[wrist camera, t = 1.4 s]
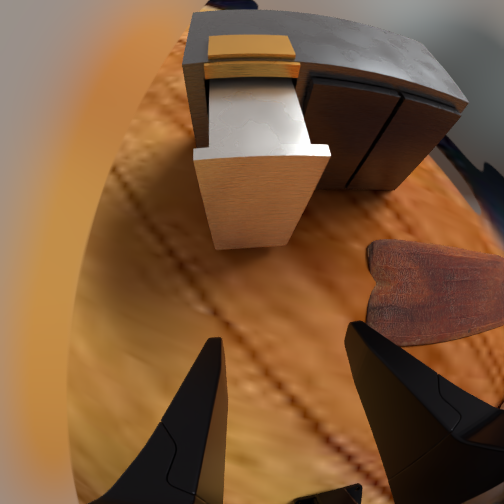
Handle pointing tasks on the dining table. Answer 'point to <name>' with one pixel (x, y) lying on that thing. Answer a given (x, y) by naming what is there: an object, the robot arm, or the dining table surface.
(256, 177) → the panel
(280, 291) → the dining table surface
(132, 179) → the dining table surface
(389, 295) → the wooden tablet
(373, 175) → the small drawer cabinet
